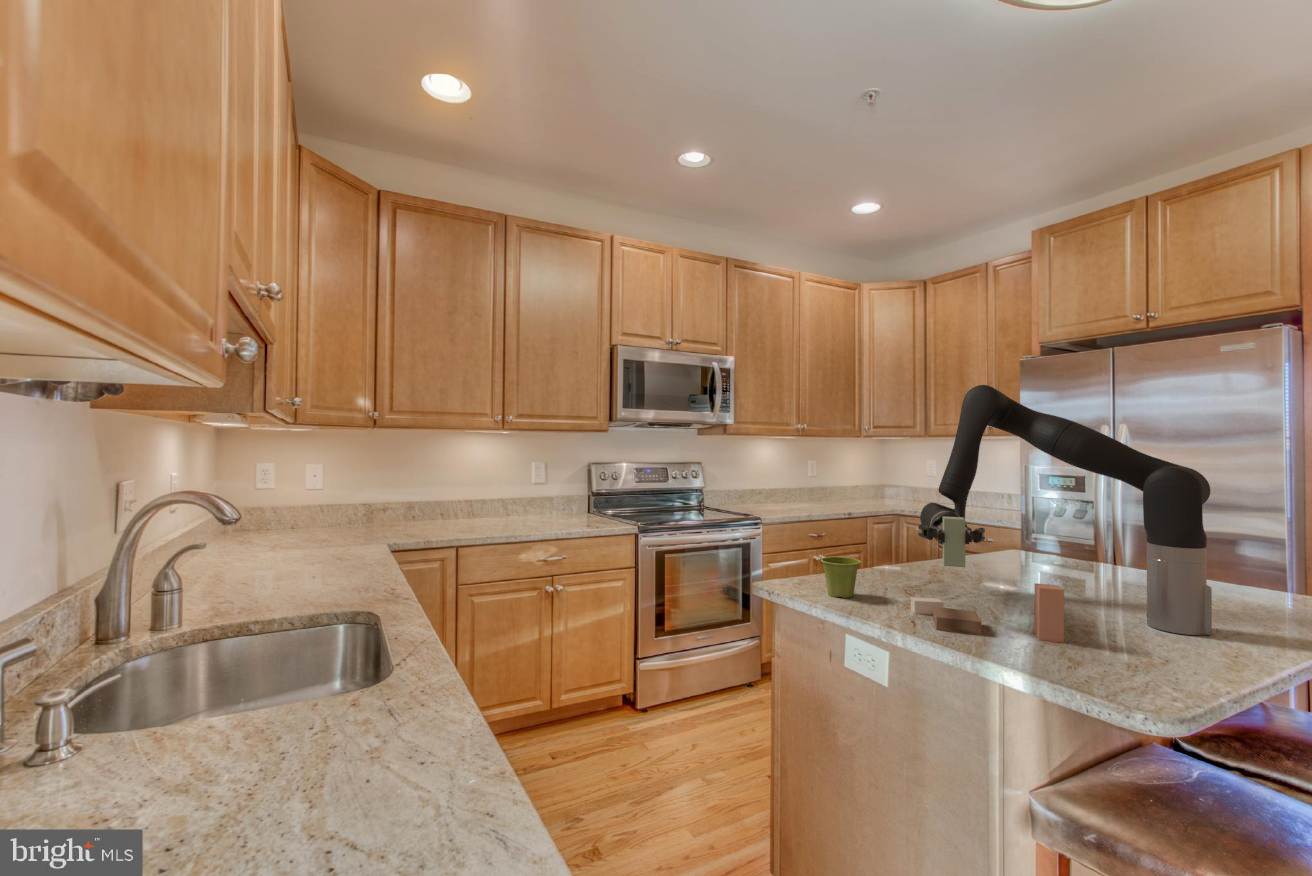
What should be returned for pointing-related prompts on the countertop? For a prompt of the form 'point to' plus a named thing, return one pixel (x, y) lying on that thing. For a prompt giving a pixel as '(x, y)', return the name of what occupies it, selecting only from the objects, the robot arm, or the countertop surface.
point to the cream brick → (925, 605)
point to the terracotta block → (1049, 612)
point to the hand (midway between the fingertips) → (955, 538)
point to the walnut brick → (956, 620)
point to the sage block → (954, 541)
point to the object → (840, 575)
